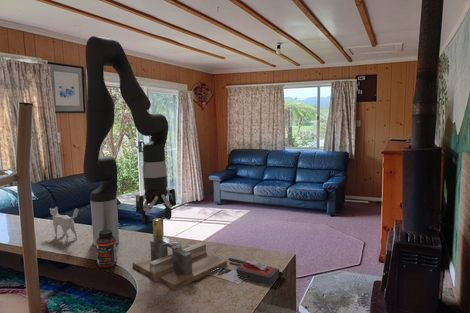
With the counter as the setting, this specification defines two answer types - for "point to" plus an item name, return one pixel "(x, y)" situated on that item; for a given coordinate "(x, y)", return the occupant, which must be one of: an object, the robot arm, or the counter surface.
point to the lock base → (177, 277)
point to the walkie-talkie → (257, 271)
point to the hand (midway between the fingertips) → (157, 222)
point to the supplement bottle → (106, 249)
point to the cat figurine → (63, 222)
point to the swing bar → (159, 234)
